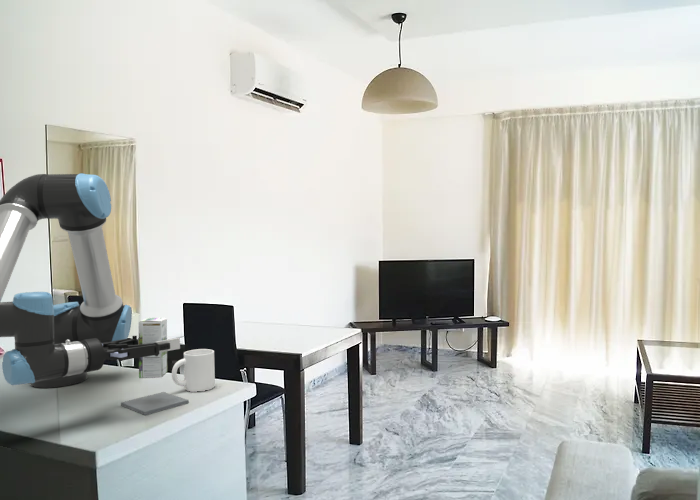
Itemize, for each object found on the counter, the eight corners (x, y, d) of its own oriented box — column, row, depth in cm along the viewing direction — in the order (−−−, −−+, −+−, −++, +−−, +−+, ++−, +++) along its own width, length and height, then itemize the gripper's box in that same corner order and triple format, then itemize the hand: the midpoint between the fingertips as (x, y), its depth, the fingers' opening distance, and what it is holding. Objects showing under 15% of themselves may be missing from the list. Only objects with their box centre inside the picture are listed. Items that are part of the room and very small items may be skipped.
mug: (177, 396, 149) (176, 358, 149) (167, 390, 156) (166, 353, 155) (219, 388, 156) (218, 352, 156) (208, 382, 163) (207, 347, 163)
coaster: (120, 405, 142) (120, 402, 142) (163, 394, 151) (163, 391, 151) (145, 415, 134) (144, 411, 134) (188, 403, 143) (188, 399, 143)
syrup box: (145, 373, 145) (143, 317, 145) (168, 372, 146) (166, 317, 145) (138, 378, 139) (137, 321, 139) (163, 377, 140) (161, 320, 140)
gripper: (101, 345, 122) (192, 331, 139) (62, 335, 135) (149, 323, 153) (102, 379, 122) (192, 360, 139) (63, 366, 136) (150, 351, 153)
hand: (170, 341), depth 146 cm, fingers closed on syrup box, 8 cm apart
